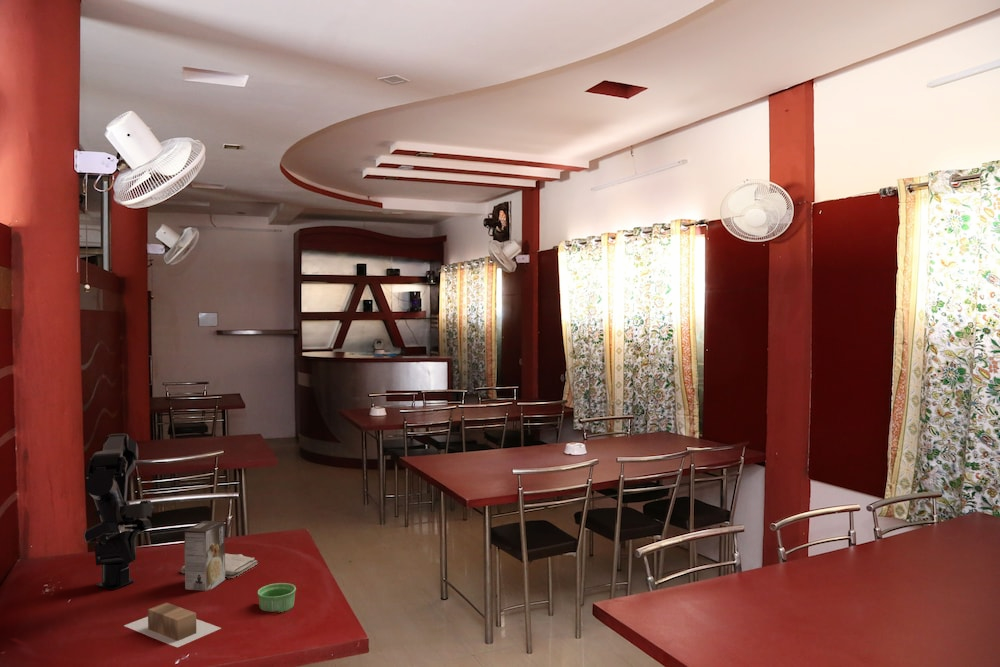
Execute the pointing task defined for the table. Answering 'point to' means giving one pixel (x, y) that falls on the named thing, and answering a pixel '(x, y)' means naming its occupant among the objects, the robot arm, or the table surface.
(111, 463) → the robot arm
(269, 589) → the ramekin
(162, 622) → the walnut block
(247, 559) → the washcloth
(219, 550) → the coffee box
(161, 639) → the mat
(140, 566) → the table surface
